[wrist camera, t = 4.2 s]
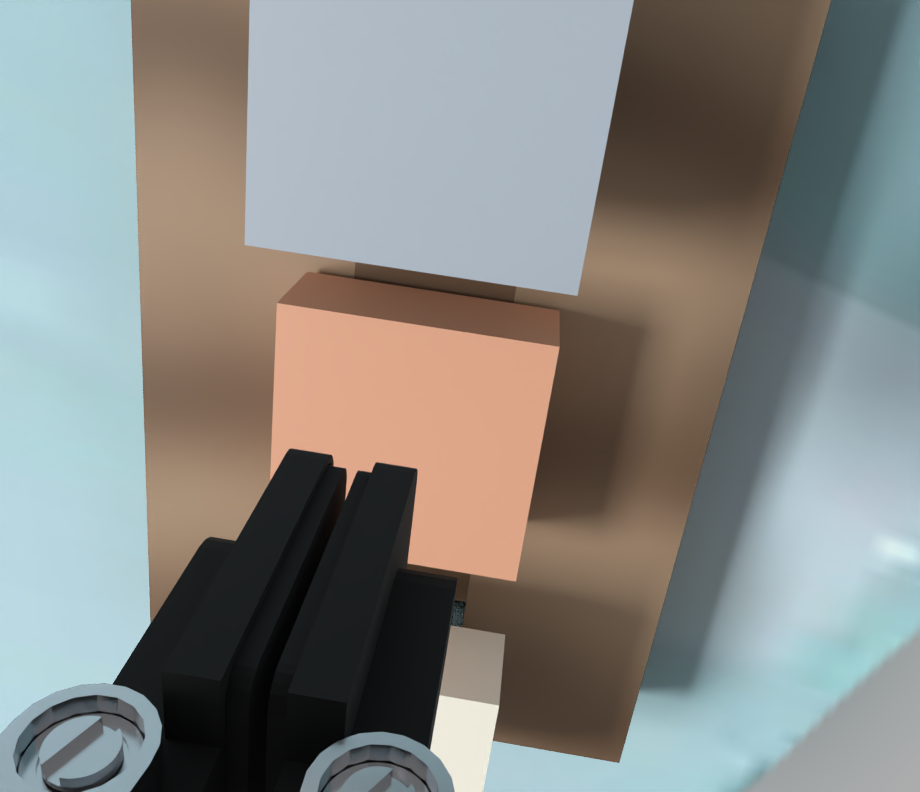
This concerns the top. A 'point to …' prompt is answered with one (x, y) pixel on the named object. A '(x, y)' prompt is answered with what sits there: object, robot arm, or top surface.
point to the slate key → (432, 132)
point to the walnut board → (581, 317)
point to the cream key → (468, 705)
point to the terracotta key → (422, 405)
